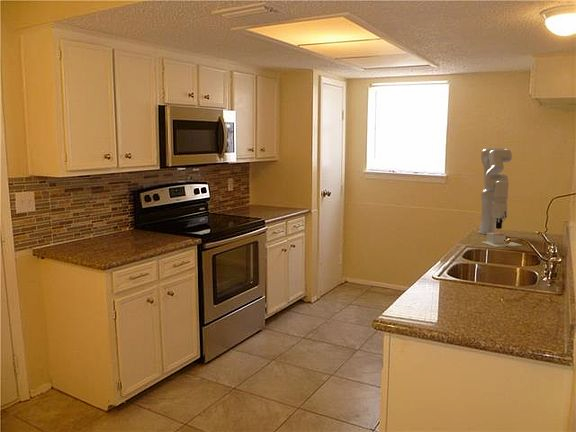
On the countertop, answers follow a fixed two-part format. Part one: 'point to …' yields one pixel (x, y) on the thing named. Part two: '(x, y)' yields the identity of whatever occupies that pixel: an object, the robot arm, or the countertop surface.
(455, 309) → the countertop surface
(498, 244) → the mat
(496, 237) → the small box
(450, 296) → the countertop surface
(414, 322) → the countertop surface
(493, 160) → the robot arm
